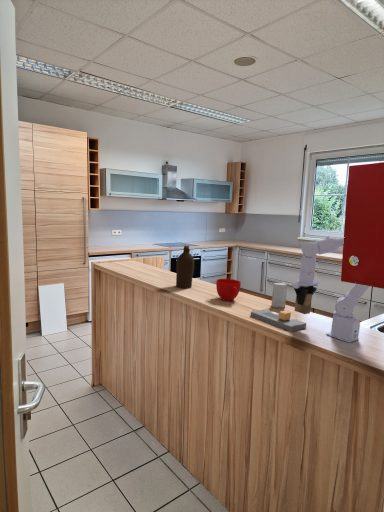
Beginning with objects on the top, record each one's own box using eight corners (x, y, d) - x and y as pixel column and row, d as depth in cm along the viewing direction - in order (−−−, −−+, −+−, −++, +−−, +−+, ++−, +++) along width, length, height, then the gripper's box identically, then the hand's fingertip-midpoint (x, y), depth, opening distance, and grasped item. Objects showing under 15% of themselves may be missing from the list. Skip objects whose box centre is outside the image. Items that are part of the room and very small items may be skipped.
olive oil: (190, 289, 194) (193, 247, 191) (173, 287, 196) (175, 245, 193) (193, 286, 204) (196, 245, 201) (177, 284, 206) (179, 244, 203)
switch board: (305, 327, 138) (306, 323, 138) (291, 331, 132) (291, 326, 132) (265, 313, 155) (265, 309, 155) (250, 316, 149) (250, 311, 149)
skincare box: (282, 305, 172) (284, 283, 170) (285, 308, 167) (287, 284, 166) (270, 305, 171) (273, 282, 169) (273, 307, 166) (276, 284, 165)
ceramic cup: (222, 304, 165) (224, 285, 164) (211, 296, 181) (213, 278, 180) (246, 304, 169) (248, 285, 167) (233, 296, 185) (235, 278, 184)
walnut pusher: (309, 313, 135) (312, 294, 134) (304, 314, 133) (307, 295, 132) (299, 309, 139) (301, 291, 138) (294, 310, 137) (296, 292, 136)
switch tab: (290, 319, 141) (290, 312, 140) (284, 320, 138) (285, 313, 138) (284, 317, 143) (285, 310, 143) (278, 318, 141) (279, 311, 140)
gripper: (309, 269, 142) (305, 299, 143) (288, 270, 133) (284, 303, 135) (324, 272, 136) (320, 304, 138) (303, 273, 127) (298, 307, 129)
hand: (303, 304), depth 136 cm, fingers closed on walnut pusher, 3 cm apart
